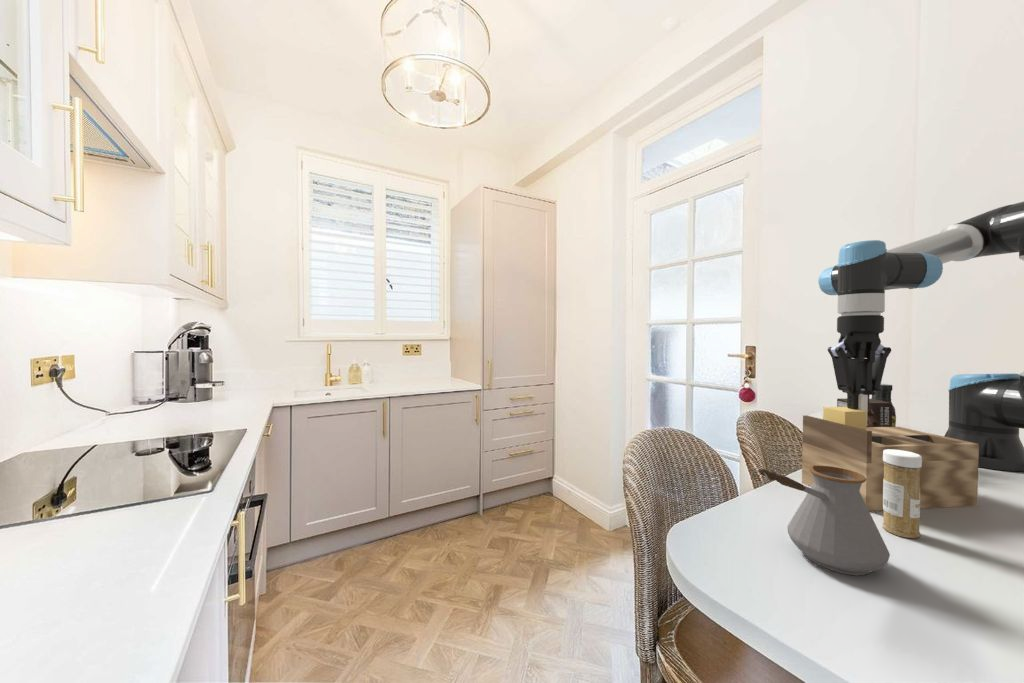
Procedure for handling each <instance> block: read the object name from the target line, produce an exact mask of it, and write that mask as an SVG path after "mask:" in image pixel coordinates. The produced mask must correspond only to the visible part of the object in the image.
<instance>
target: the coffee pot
mask: <svg viewBox="0 0 1024 683" xmlns="http://www.w3.org/2000/svg"><path fill="white" fill-rule="evenodd" d="M809 471H810V472H811V473H812V474H813V478H814V483H813V485H812V487H811V486H807V485H805V484H803V483H800V482H799V481H796V480H794V479H792V478H791V477H788V476H787V475H782V474H778V473H777V472H775V471H773V470H770V471H769V470H768V469H763V468H760V469H756V470H753V471H752V472H751V473H750V477H751V478H750V479H751V480H752V481H753V482H754V483H755V484H757V485H764V484H766V483H767V482H768V481H769V480H770V481H776V482H778V483H779V484H781V486H785V487H789V488H790V489H791V488H792V489H795V490H798V491H801V492H804V493H806V495H805V497H804V498H803V500H802V501H801V503H800V505H799V507H798V508H797V510H796V511H795V513H794V515H793V516H792V517H791V519H790V521H789V523H788V525H787V528H786V529H787V534H788V536H789V538H790V540H791V542H793V544H794V546H796V548H797V549H798V550H800V551H801V552H802V553H803V555H804V556H805V558H807V559H808V560H810V561H811V562H813V563H814V564H816V565H818V566H821V567H823V568H825V569H828V570H830V571H832V572H833V571H834V572H837V573H840V574H844V575H845V574H846V575H852V576H864V575H868V574H870V573H871V572H875V571H878V570H880V569H882V568H884V567H885V566H886V565H887V563H888V562H889V560H890V556H891V555H890V554H891V553H890V551H889V549H888V547H887V545H886V543H885V541H884V539H883V536H882V535H881V533H880V531H879V529H878V527H877V524H876V522H875V521H874V519H873V516H872V514H871V511H869V510H868V508H867V506H866V504H865V502H864V500H863V498H862V496H861V493H860V487H861V485H862V483H864V482H865V481H866V478H865V476H863V475H862V474H860V473H857V472H854V471H851V470H848V469H844V468H839V467H833V466H823V465H811V466H810V467H809ZM755 472H758V473H759V474H760V475H762V476H764V477H765V480H764V482H761V483H759V482H757V481H755V480H754V477H753V475H754V473H755ZM768 479H769V480H768Z"/></svg>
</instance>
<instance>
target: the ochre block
mask: <svg viewBox="0 0 1024 683" xmlns="http://www.w3.org/2000/svg"><path fill="white" fill-rule="evenodd" d="M822 419H824V420H828V421H832V422H836V423H840V424H844V425H848V426H853V427H857V428H861V429H865V430H866V424H867V411H863V410H858V409H850V408H847V407H837V406H823V410H822Z"/></svg>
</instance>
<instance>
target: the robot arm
mask: <svg viewBox="0 0 1024 683" xmlns="http://www.w3.org/2000/svg"><path fill="white" fill-rule="evenodd" d="M1012 253H1013V254H1014V253H1018V259H1020V260H1022V261H1024V201H1021V202H1015V203H1013V204H1008V205H1002V206H1000V207H997V208H993V209H991V210H988V211H986V212H983V213H981V214H977V215H975V216H973V217H971V218H968V219H966V220H963V221H960V222H957V223H954V224H952V225H948V226H947V227H945V228H943V229H942V230H940V232H939V233H937V234H933V235H931V236H928V237H924V238H922V239H918V240H915V241H913V242H909V243H906V244H903V245H900V246H896V247H894V248H890V249H887V245H886V242H884V241H883V240H880V239H878V240H877V239H876V240H875V239H873V240H872V239H871V240H861V241H855V242H850V243H847V244H844V245H843V246H841V247H840V249H839V252H838V259H837V260H838V262H837V264H836V265H834V266H830V267H827V268H825V269H824V270H822V271H821V273H820V274H819V277H818V287H819V289H820V291H821V292H822V293H823V294H825V295H827V296H837V314H839V315H841V316H838V317H837V318H836V332H837V333H839V334H840V337H839V338H838V342H837V343H836V345H835V346H829V347H828V348H827V352H828V354H829V355H830V357H831V361H832V366H833V369H834V370H833V371H834V376H835V381H836V385H837V389H838V390H839V391H842V393H843V394H844V393H845V394H846V395H847V396H846V397H847V398H846V399H847V407H848V408H850V409H858V410H863V411H867V409H869V399H870V395H871V396H872V395H875V393H876V392H874V391H879V389H880V385H881V384H882V380H883V376H884V371H885V368H886V363H887V359H888V357H889V355H890V354H891V353H892V348H891V347H890V346H888V347H887V346H884V345H883V344H882V341H881V339H880V334H882V333H884V330H885V317H884V316H883V315H881V313H882V314H883V313H885V309H886V301H885V300H886V291H889V290H897V289H898V290H899V289H909V290H913V289H922V288H923V289H924V288H928V287H930V286H932V285H934V284H935V283H936V282H938V281H939V280H940V278H941V277H942V274H943V270H944V265H943V264H946V263H949V262H964V261H968V260H971V259H975V258H981V257H987V256H989V257H990V256H997V255H1004V254H1005V255H1006V254H1012ZM866 426H867V424H866ZM1020 429H1023V430H1024V371H1022V372H1021V373H964V374H963V373H962V374H955V375H953V376H952V377H951V378H950V380H949V388H948V427H947V430H946V432H945V434H944V435H943V436H944V437H949V438H954V439H958V440H963V441H967V442H972V443H977V444H979V457H978V468H984V469H990V470H998V471H1008V472H1024V444H1023V442H1022V440H1021V438H1020Z"/></svg>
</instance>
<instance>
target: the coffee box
mask: <svg viewBox="0 0 1024 683" xmlns="http://www.w3.org/2000/svg"><path fill="white" fill-rule="evenodd" d="M836 401H837V403H836V407H847V398H837V399H836ZM892 404H893V403H889V402H885V401H882V400H877V399H872V398H869V409H867V426H866V427H892ZM847 408H848V407H847Z"/></svg>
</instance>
